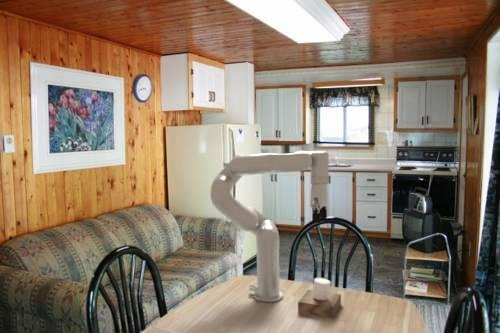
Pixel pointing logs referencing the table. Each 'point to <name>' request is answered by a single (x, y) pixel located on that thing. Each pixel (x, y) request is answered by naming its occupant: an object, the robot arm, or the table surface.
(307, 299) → the walnut block
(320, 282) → the shot glass
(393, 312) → the table surface
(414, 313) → the table surface
